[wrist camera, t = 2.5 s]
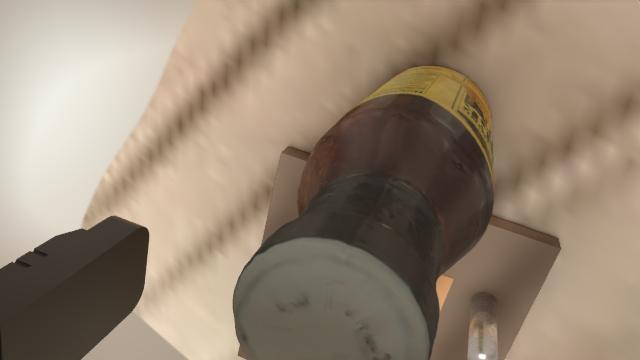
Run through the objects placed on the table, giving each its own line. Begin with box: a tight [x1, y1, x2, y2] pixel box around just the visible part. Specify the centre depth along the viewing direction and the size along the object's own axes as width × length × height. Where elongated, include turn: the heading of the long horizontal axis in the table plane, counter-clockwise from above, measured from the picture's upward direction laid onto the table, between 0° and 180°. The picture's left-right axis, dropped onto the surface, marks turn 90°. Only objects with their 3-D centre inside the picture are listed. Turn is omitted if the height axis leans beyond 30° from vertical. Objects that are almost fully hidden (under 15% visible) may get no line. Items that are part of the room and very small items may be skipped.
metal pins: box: [467, 292, 498, 360], centre depth 30 cm, size 13×11×5 cm
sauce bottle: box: [233, 66, 494, 360], centre depth 19 cm, size 6×6×20 cm
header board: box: [238, 147, 561, 360], centre depth 32 cm, size 16×16×1 cm
